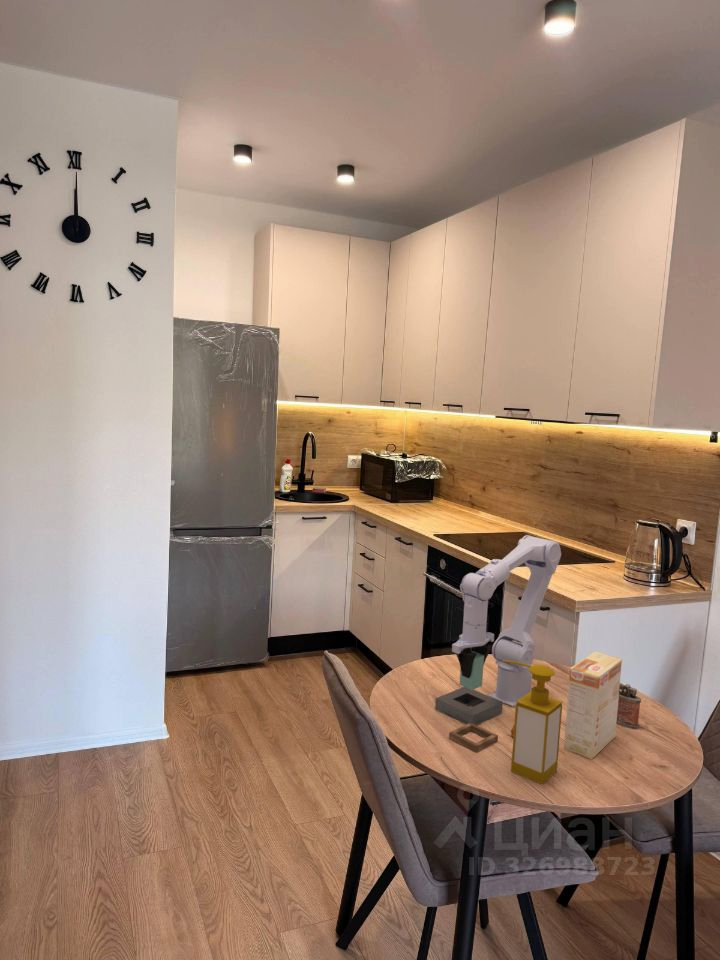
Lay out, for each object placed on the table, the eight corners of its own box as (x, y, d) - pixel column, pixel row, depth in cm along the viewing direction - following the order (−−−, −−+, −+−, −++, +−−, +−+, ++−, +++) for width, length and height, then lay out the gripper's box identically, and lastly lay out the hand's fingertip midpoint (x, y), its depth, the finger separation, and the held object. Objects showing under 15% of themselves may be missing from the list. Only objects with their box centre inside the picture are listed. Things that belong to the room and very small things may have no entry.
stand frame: (470, 728, 164) (470, 722, 164) (497, 741, 158) (498, 735, 158) (448, 738, 158) (449, 732, 158) (476, 752, 153) (476, 746, 152)
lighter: (640, 726, 169) (644, 688, 168) (635, 730, 166) (639, 691, 165) (608, 715, 174) (612, 677, 173) (603, 719, 172) (606, 681, 171)
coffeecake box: (587, 726, 167) (594, 650, 165) (616, 737, 163) (623, 658, 161) (561, 748, 156) (568, 667, 154) (592, 760, 151) (599, 676, 149)
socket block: (464, 696, 181) (465, 686, 181) (501, 713, 173) (502, 702, 172) (435, 709, 173) (435, 698, 173) (472, 727, 164) (473, 715, 164)
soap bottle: (503, 749, 154) (510, 649, 152) (556, 770, 146) (565, 665, 144) (488, 761, 149) (495, 658, 146) (542, 784, 141) (551, 675, 138)
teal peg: (469, 680, 174) (471, 650, 173) (482, 685, 171) (484, 655, 170) (459, 684, 171) (461, 654, 170) (472, 690, 168) (474, 659, 167)
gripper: (479, 612, 177) (476, 662, 178) (443, 623, 167) (440, 676, 168) (502, 619, 172) (498, 670, 173) (466, 631, 162) (463, 685, 163)
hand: (471, 674), depth 171 cm, fingers closed on teal peg, 4 cm apart
